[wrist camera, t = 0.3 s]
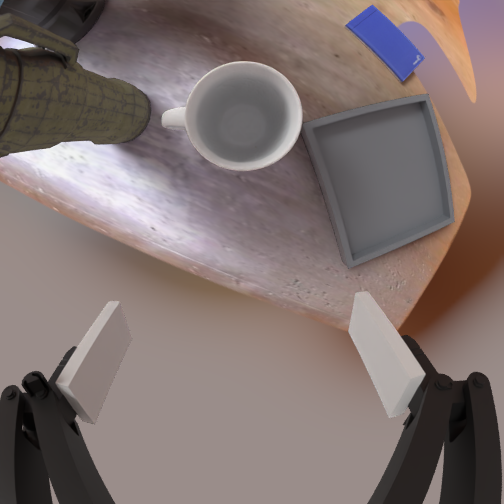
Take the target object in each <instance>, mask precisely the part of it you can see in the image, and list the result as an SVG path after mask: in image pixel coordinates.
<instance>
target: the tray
mask: <svg viewBox="0 0 504 504" xmlns="http://www.w3.org/2000/svg"><path fill="white" fill-rule="evenodd" d="M300 132H301V135H302V137H303V140H304V143H305V145H306V148H307V151H308V153H309V156H310V159H311V162H312V165H313V167H314V170H315V173H316V176H317V179H318V182H319V185H320V188H321V191H322V194H323V197H324V200H325V203H326V206H327V210H328V213H329V216H330V219H331V223H332V226H333V230H334V233H335V237H336V240H337V244H338V247H339V251H340V255H341V258H342V261H343V263H344V264H345V265H346V266H347V268H348V269H349V268H352V267H354V266H357V265H359V264H361V263H364V262H366V261H369V260H371V259H373V258H376V257H378V256H380V255H383V254H385V253H387V252H390V251H392V250H394V249H397V248H399V247H401V246H403V245H406V244H408V243H410V242H412V241H415V240H417V239H419V238H421V237H423V236H425V235H428V234H430V233H432V232H434V231H436V230H438V229H440V228H443V227H445V226H447V225H449V224H451V223H453V222H455V221H454V210H453V201H452V193H451V186H450V180H449V174H448V168H447V163H446V158H445V153H444V148H443V144H442V139H441V135H440V131H439V128H438V124H437V120H436V117H435V113H434V110H433V107H432V104H431V100H430V97H429V94H422V95H416V96H410V97H405V98H400V99H395V100H390V101H385V102H380V103H376V104H371V105H367V106H363V107H359V108H355V109H351V110H347V111H343V112H340V113H336V114H333V115H329V116H326V117H322V118H319V119H315V120H312V121H309V122H306V123H303V124H302V127H301V131H300Z"/></svg>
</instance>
